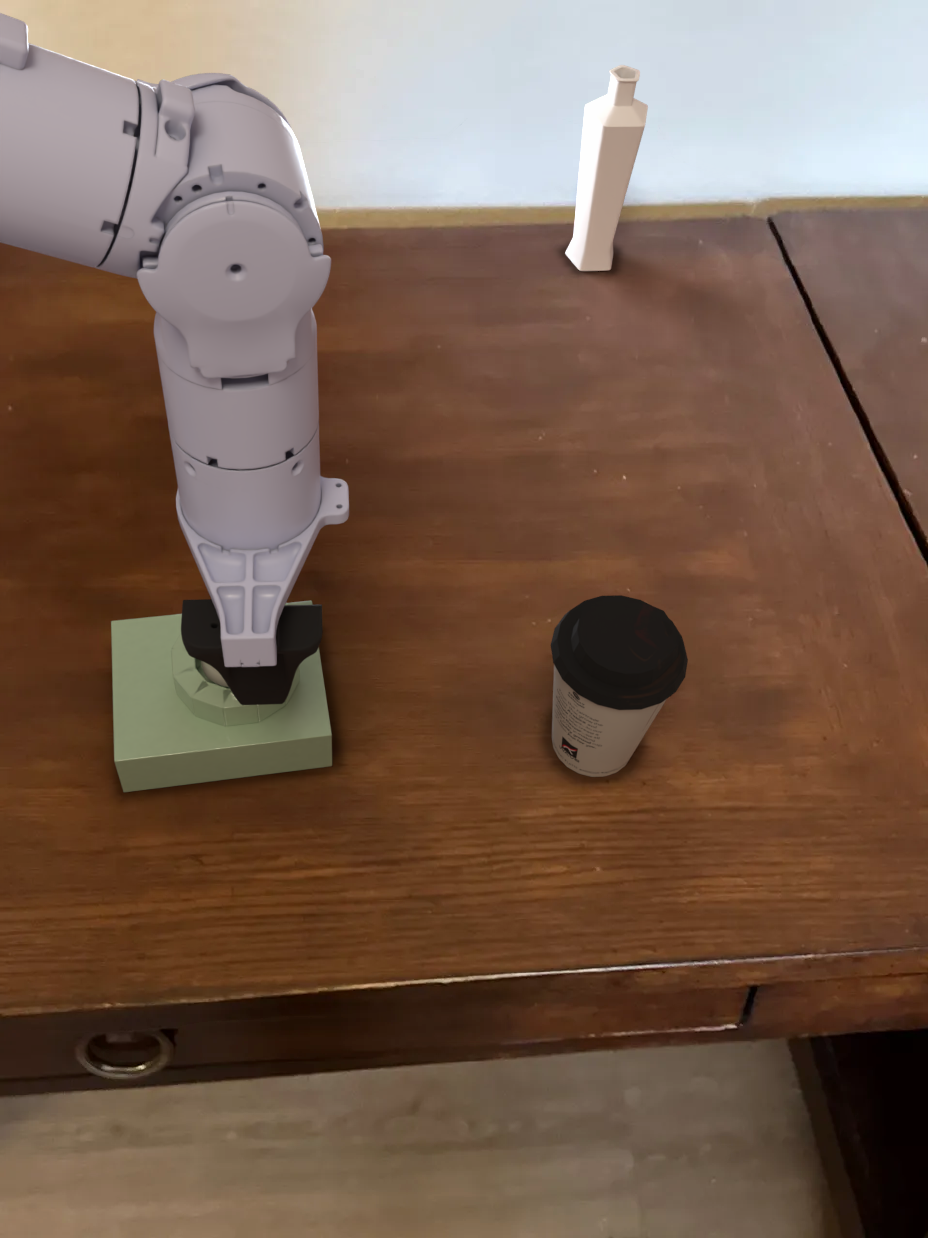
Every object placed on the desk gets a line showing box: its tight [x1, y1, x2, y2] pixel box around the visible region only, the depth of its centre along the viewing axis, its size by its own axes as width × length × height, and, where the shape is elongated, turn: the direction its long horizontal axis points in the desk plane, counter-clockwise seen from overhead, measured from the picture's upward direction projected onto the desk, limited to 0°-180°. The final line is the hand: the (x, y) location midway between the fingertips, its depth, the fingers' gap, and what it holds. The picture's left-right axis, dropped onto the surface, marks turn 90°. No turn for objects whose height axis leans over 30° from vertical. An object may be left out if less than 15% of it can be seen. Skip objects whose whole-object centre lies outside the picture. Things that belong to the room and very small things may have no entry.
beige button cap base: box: [110, 600, 333, 793], centre depth 65 cm, size 11×9×5 cm
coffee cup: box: [550, 594, 689, 778], centre depth 64 cm, size 7×7×10 cm
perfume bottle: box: [564, 64, 649, 272], centre depth 89 cm, size 5×4×15 cm
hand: (263, 630), depth 57 cm, fingers open, 7 cm apart
